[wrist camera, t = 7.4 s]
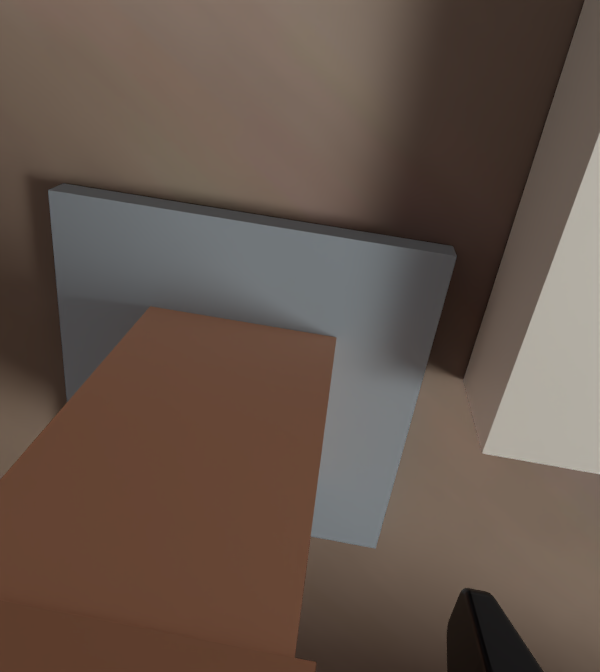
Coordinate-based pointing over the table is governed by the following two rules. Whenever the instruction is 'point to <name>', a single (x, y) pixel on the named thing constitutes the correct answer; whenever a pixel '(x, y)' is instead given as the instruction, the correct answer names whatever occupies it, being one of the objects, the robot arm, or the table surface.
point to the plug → (169, 505)
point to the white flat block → (549, 289)
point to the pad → (265, 315)
